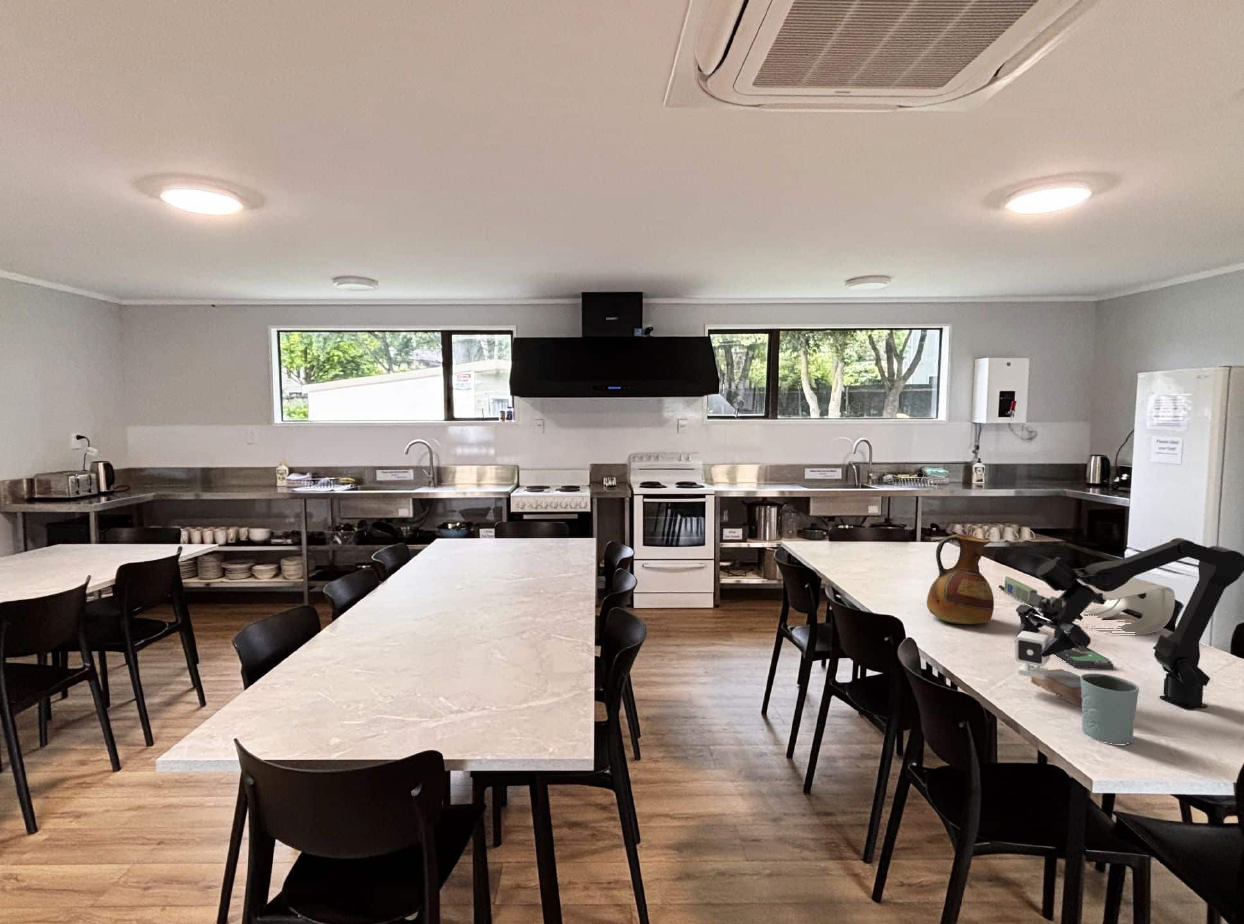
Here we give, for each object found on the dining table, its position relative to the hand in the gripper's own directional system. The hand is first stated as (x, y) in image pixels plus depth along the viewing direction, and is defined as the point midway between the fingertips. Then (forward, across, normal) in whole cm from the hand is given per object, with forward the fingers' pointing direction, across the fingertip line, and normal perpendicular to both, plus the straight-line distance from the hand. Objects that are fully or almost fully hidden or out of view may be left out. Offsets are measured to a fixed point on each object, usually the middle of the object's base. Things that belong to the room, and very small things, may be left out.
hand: (1028, 649), depth 157 cm
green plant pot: (+7, +21, +10) cm, 24 cm away
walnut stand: (0, 0, +16) cm, 16 cm away
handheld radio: (-33, -82, +51) cm, 102 cm away
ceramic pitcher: (-5, -57, +22) cm, 61 cm away
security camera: (+4, 0, +6) cm, 7 cm away
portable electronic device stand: (-39, -50, +57) cm, 85 cm away
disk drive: (-14, -21, +31) cm, 40 cm away
